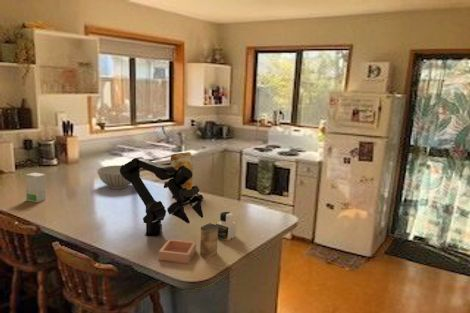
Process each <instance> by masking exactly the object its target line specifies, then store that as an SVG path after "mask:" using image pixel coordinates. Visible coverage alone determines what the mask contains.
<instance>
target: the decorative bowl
mask: <svg viewBox="0 0 470 313" xmlns="http://www.w3.org/2000/svg"><path fill="white" fill-rule="evenodd" d="M122 165H123V164H120V165H119V164H117V165H107V166H102V167H98V168H97V169H96V171H97V175H98V178H99V179H100V180H101V182H102V183H104V185H107V186H108V188H110V189H112V190H122V188H123V189H126V188H128V186H129V185H132V184H131V182H129V181H127V180H126V179H124V177H123V176H122V175H121V173H120V168H121V166H122Z"/></svg>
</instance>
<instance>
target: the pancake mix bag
mask: <svg viewBox="0 0 470 313" xmlns="http://www.w3.org/2000/svg"><path fill="white" fill-rule="evenodd" d="M192 157H193V156H192V153H191V152H189V151H187V152H180V153H179V152H178V153H177V152H176V153H173V154H171V155H170V166H173V167H174V169H176V170H178V169H179V167H180V166H183V165H184V166H185V167H186V168H188V169H189V170H191V171H192V174H194V167H193V158H192ZM173 178H174V177H173ZM173 178H172V179H173ZM182 186H183V188H187V189H188V190H190V189H192V187H193V176H192V177H191V178H190V179H189V180H188V181H187V182H186V183H185V184H184V185H182Z"/></svg>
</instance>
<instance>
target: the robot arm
mask: <svg viewBox="0 0 470 313" xmlns="http://www.w3.org/2000/svg"><path fill="white" fill-rule="evenodd" d="M121 165H122V166H121V168H120V173H121V175H122V176H123V177H124V179H126V180H127V181H129V182H131V184H130V185H132V187H133V189H134V190H135V192H136V193H137V194H138V196H139V198H140V200H141V201H142V203H143V204H144V206H145V215H144V217H143V218H142V221H143V223H145V225H146V226H145V233H144V236H147V237H155V238H156V237H157V238H158V237H159V236H160V235H161V234H162V233H163V224H162V221H164V219H165V217H166V212H167V213H168V215H171V216H174V217H176V218H178V219H180V220H182V221H183V222H185V223H186V224H190V219H189V217H188V216H187V213H186V212H185V207H186V206H187V207H188V206H191V209H192V210H193V211H194V212H195V213H196V214H197V215H198V216H199V217H200V218H201V219H202V218H204V214H203V210H202V209H203V208H202V202H203V201H204V196H203V195H202V194H200V193H199V192H200V188H199V186H198V185H196V184H195V185H192V189H190V190H188V189H187V188H183V186H182V185H184V184H185V183H186V182H187V181H188V180H189V179H190V178H191V177H192V176H193V174H194V173H193V174H192V171H191V170H189V169H188V168H186V167H185V166H184V165H183V166H180V167H179V169H178V170H176V169H174V167H173V166H171V165H167V164H159V163H156V162H153V161H151V160H148V159H147V158H144V157H143V156H140V157H134V158H133V159H132V160H130V161H128V162H126V163H125V164H121ZM141 169H143V170H146V171H147V172H151V173H153V174H154V175H155V178H157V179H159V180H160V181H165V182H164V185H163V188H164V189H167V188H168V190H169V192H170V193H171V195H172V196H171V199H172V200H175V201H174V202H172V203H171V204H170V205H169V206H168V207H167V209H166V206H164V205H163V202H162V201H161V200H158V201H157V200H155V198H154V197H153V196H152V194H151V191H150V190H149V189H148V187H147V186H146V184H145V183H144V181H143V180H142V178H141V176H140V172H141V171H140V170H141ZM173 177H174V178H173ZM166 180H167V181H166Z"/></svg>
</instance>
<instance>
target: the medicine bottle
mask: <svg viewBox="0 0 470 313" xmlns="http://www.w3.org/2000/svg"><path fill="white" fill-rule="evenodd" d="M215 225H218V239H220V240H224V241H231V238H232V239H233V238H235V237H236V234H237V231H236V230H237V222H235V221H234V214H233V213H232V212H231V211H222V212H221V213H220V217H219V221H218V222H216V223H215Z"/></svg>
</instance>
